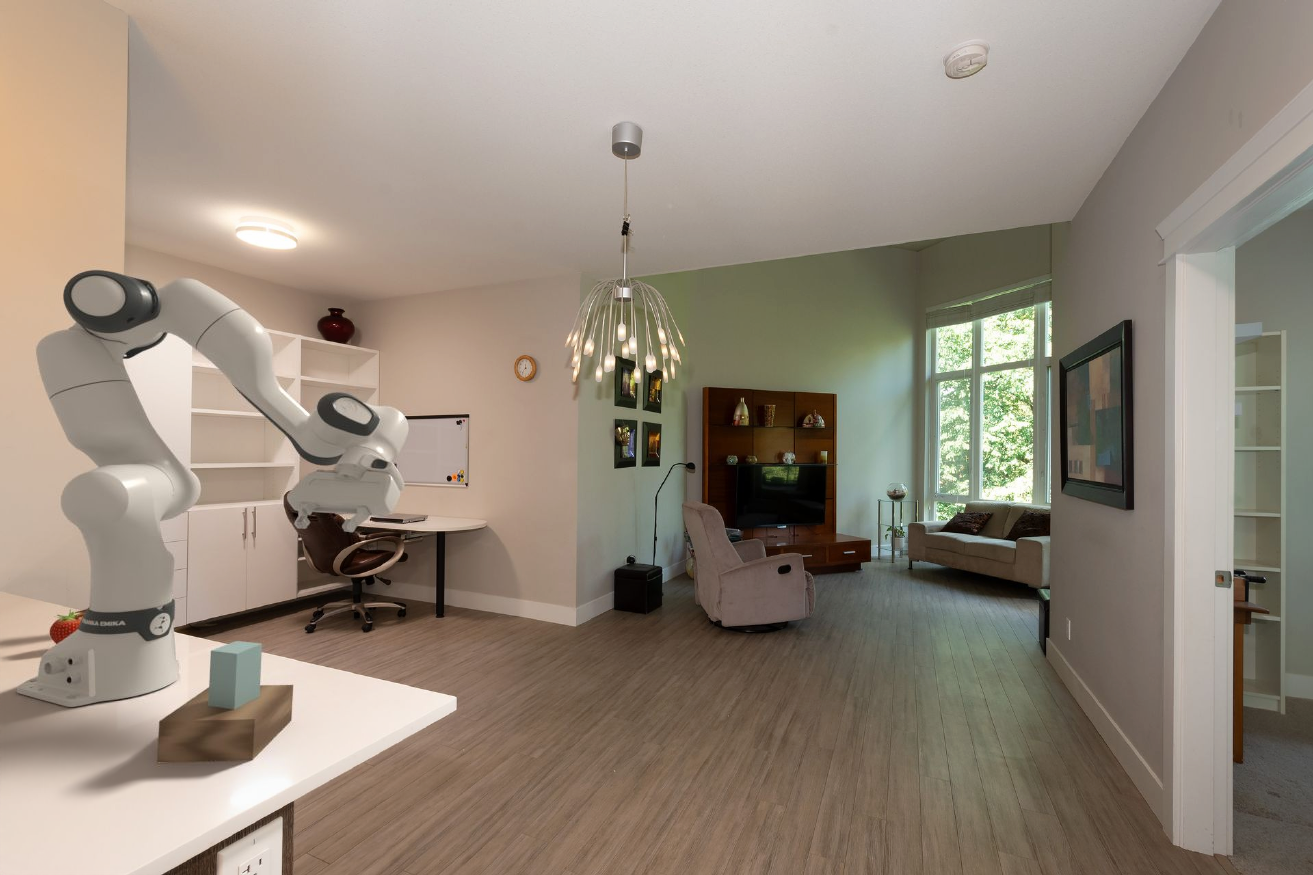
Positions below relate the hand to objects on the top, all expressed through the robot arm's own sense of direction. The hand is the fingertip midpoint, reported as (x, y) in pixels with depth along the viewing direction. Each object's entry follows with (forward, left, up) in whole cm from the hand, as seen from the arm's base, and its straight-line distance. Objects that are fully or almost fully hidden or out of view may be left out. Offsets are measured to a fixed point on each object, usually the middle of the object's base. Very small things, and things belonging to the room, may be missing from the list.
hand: (323, 528), depth 109 cm
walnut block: (+1, -20, -29) cm, 35 cm away
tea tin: (+1, -20, -23) cm, 30 cm away
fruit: (-58, +5, -29) cm, 65 cm away
